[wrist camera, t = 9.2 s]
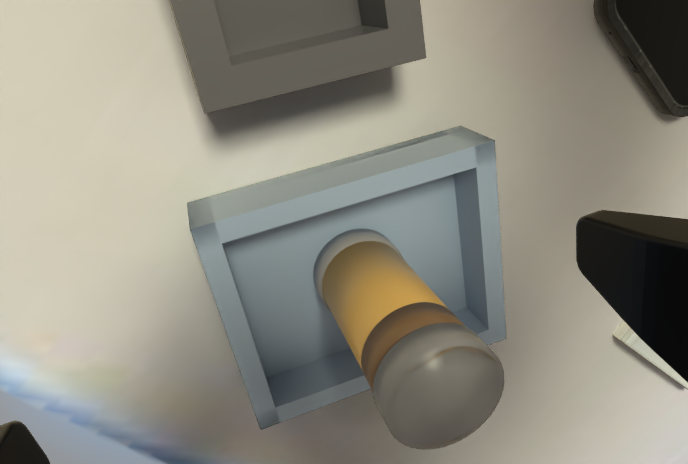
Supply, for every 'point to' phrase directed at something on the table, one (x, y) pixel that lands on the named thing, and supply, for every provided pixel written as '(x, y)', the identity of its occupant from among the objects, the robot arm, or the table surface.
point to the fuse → (407, 342)
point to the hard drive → (646, 351)
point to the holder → (291, 44)
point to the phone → (652, 46)
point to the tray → (323, 225)
